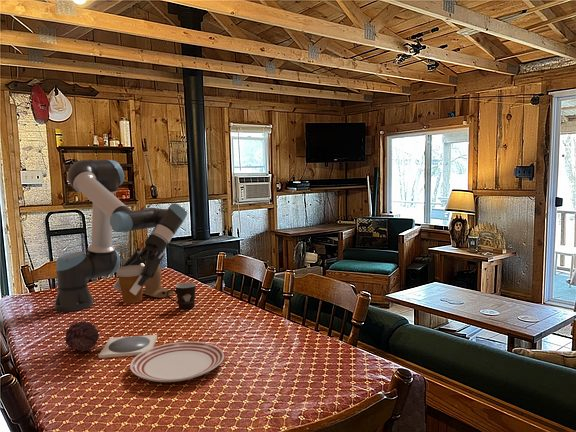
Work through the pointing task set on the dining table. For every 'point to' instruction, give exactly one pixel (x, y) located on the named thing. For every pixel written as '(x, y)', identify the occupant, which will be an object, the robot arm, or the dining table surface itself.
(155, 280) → the tan irregular lump
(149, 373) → the dinner plate
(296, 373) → the dining table surface
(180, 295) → the coffee mug
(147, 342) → the board
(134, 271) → the disposable coffee cup
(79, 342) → the pine cone
